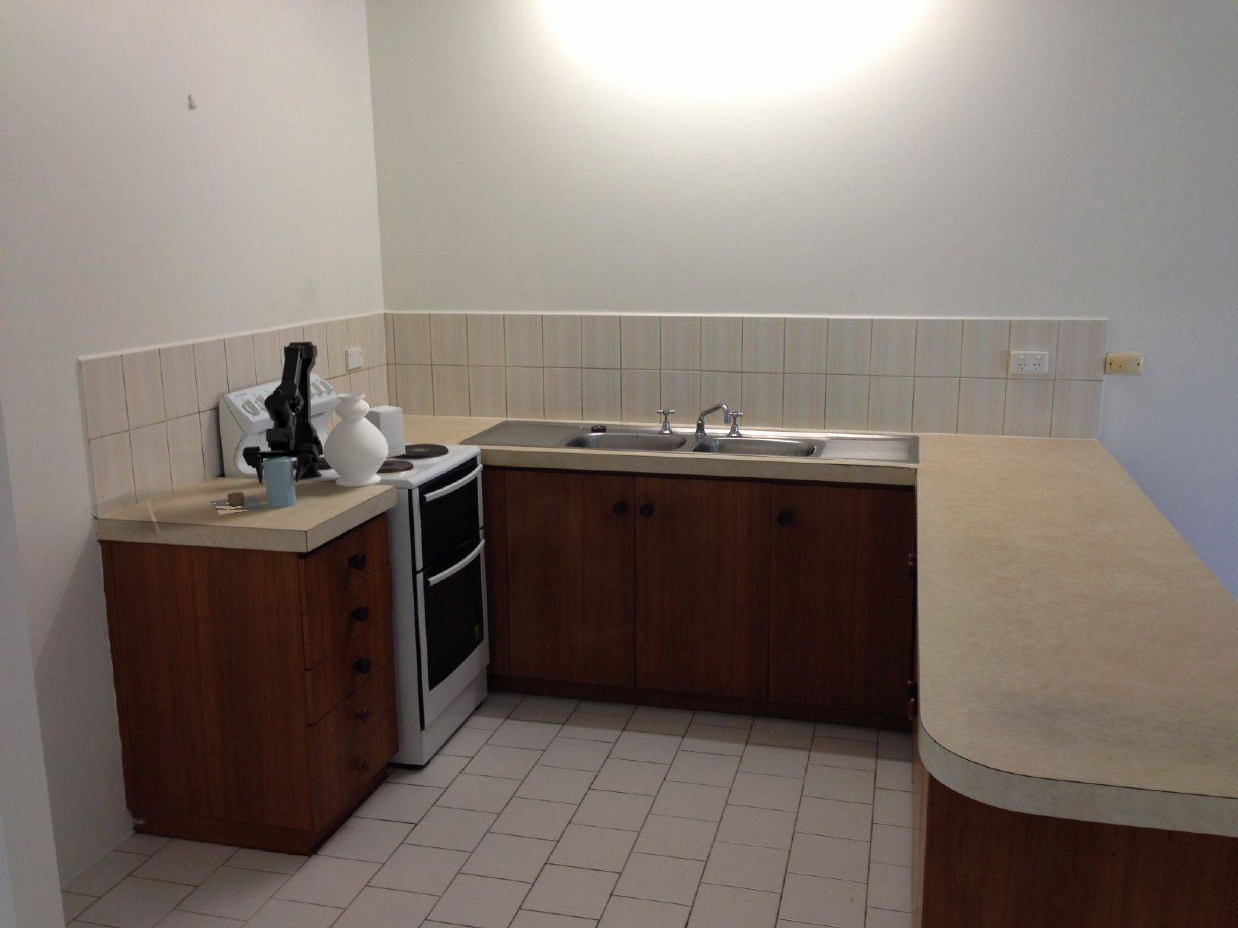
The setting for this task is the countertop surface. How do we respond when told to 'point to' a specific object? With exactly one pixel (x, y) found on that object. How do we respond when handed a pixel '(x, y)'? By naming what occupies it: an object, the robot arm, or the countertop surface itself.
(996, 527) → the countertop surface
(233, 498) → the brown block
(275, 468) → the tumbler
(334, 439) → the decorative vase
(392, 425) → the supplement box
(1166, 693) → the countertop surface
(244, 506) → the mat
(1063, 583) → the countertop surface
